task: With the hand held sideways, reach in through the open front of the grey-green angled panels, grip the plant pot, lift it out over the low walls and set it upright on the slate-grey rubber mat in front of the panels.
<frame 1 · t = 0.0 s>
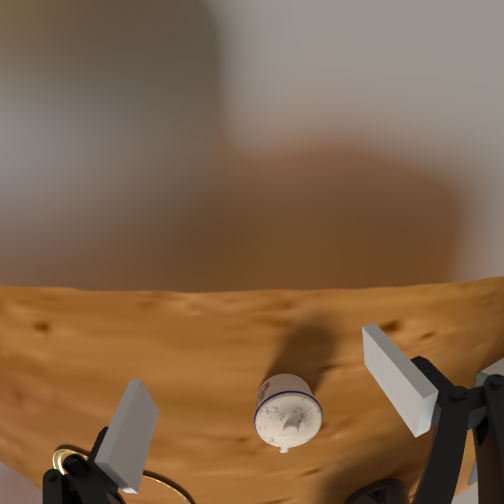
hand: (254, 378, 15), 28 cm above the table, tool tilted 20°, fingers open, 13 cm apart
teacup with lid: (283, 404, 41), on the table
brass wire loop: (118, 489, 40), on the table
slate mat: (491, 455, 37), on the table
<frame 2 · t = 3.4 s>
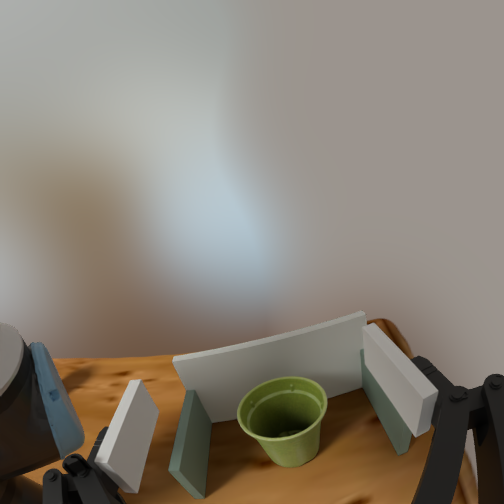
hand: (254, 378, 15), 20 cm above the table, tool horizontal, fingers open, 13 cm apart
grey-green angled panels: (294, 448, 28), on the table
plant pot: (295, 449, 28), on the table
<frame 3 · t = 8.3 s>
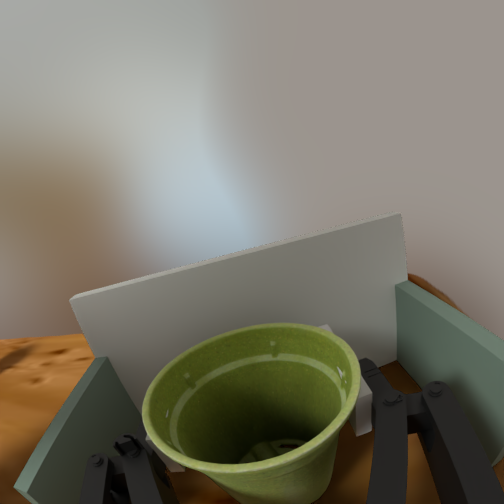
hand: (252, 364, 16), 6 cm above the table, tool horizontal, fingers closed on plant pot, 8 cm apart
grey-green angled panels: (282, 476, 13), on the table
plant pot: (283, 477, 13), on the table, touching gripper
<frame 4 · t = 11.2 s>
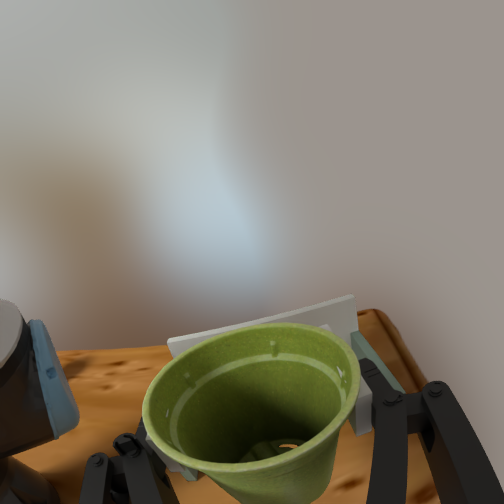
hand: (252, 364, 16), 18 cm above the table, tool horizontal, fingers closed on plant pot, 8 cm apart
grey-green angled panels: (287, 430, 29), on the table
plant pot: (283, 477, 13), point 12 cm above the table, touching gripper
when the fingers open (8 cm above the table, at t = 14.1 s): plant pot moves 1 cm, point 1 cm above the table.
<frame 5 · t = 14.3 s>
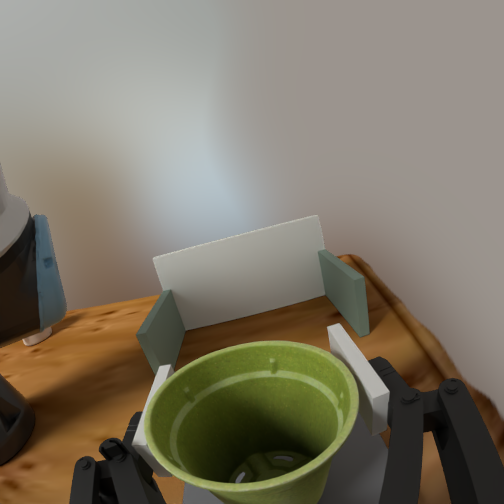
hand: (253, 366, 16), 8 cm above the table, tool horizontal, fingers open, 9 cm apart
teacup with lid: (35, 341, 50), on the table
grey-green angled panels: (259, 338, 35), on the table
plant pot: (276, 488, 13), point 1 cm above the table, touching gripper
slate mat: (288, 491, 14), on the table
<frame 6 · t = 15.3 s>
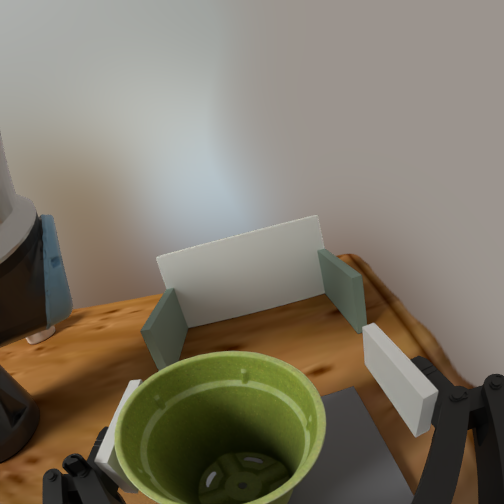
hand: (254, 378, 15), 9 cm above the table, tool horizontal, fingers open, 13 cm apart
teacup with lid: (38, 340, 51), on the table
grey-green angled panels: (260, 335, 36), on the table
plant pot: (246, 489, 13), point 1 cm above the table, touching gripper, slate mat
slate mat: (287, 480, 15), on the table
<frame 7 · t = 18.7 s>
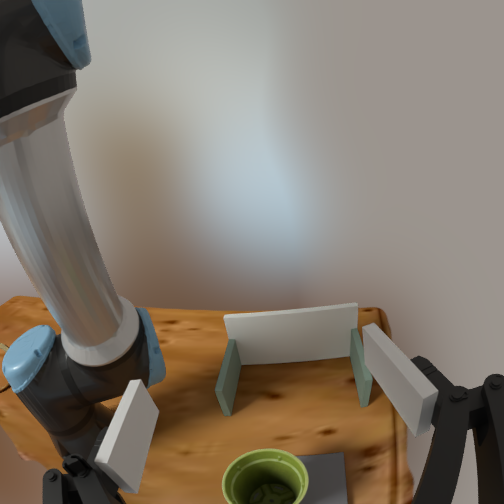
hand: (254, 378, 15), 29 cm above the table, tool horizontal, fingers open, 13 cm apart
grey-green angled panels: (295, 389, 47), on the table
plant pot: (272, 502, 26), point 1 cm above the table, touching slate mat
slate mat: (293, 498, 27), on the table
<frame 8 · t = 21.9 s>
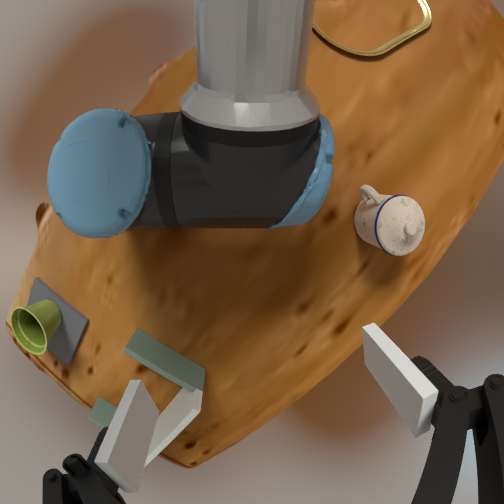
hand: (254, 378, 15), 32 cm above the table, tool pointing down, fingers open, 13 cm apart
teacup with lid: (370, 212, 46), on the table
brass wire loop: (373, 8, 37), on the table
grey-green angled panels: (139, 383, 50), on the table
plant pot: (51, 312, 45), point 1 cm above the table, touching slate mat
slate mat: (53, 322, 46), on the table
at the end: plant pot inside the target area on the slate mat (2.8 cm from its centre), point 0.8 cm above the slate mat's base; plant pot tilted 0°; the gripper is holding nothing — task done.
